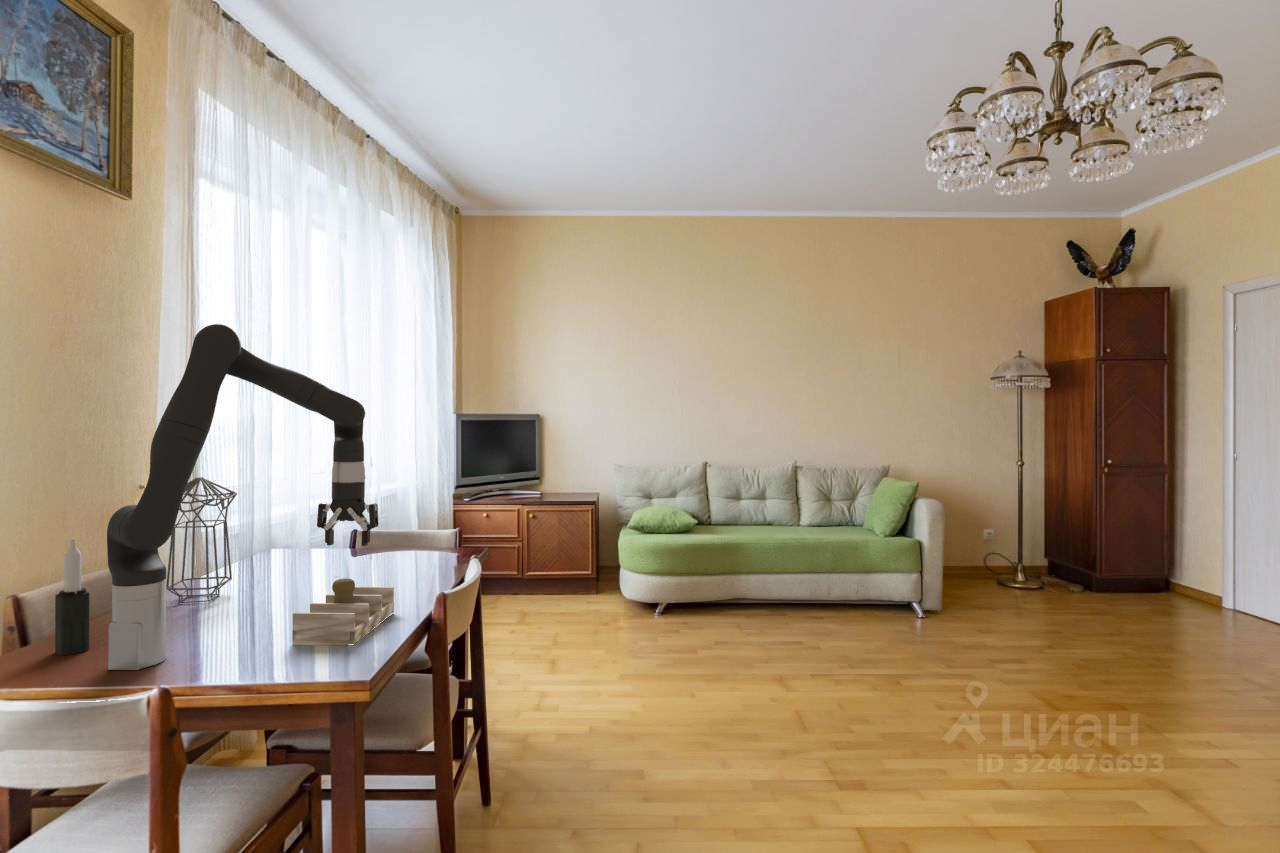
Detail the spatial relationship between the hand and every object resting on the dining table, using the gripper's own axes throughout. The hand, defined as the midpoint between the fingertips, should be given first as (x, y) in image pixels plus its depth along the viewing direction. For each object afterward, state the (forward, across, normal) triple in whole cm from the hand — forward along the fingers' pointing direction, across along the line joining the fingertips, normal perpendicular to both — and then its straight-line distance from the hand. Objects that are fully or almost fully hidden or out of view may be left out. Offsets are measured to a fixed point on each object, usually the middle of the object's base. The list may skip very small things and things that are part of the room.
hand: (347, 545), depth 168 cm
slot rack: (+21, 0, 0) cm, 21 cm away
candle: (+21, -53, -18) cm, 60 cm away
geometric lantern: (+21, -53, +25) cm, 62 cm away
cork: (+20, -1, 0) cm, 20 cm away
